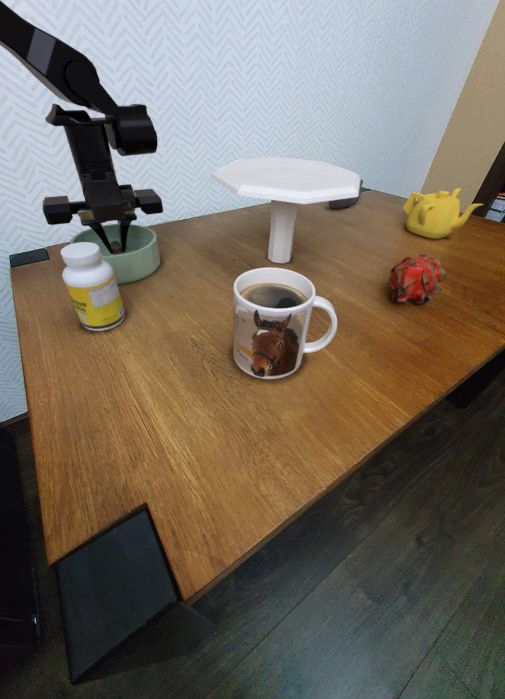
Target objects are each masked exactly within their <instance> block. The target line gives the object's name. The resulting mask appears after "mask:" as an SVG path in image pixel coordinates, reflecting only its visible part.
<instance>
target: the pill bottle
mask: <svg viewBox="0 0 505 699" xmlns="http://www.w3.org/2000/svg"><path fill="white" fill-rule="evenodd" d="M60 255H61V258H62V260H63V262H64V265H67V266H65V268H64V269H63V271H62V280H63V282H64V285H65V287H66V289H67V292H68V294H69V297H70V299H71V303H72V304H73V306H74V309H75V311H76V313H77V317H78V318H79V321H80V323H81V326H83V327H84V328H85V329H87V330H90V331H95V332H102V331H107V330H112V329H114V328H116V327H118V326H119V325H120V324H122V322H123V321H124V319H125V317H126V311H125V307H124V303H123V301H122V296H121V293H120V291H119V290H120V289H119V287H118V284H117V282H116V279H115V275H114V272H113V269H112V267H111V265H110V264H109V263H107V262H106V261H104V260H102V259H101V258H102V254H101V251H100V248H99V246H98V245H97V244H95V243H91V242H79V243H73V244H70V243H69V244H67V245H65V246H64V247H62V249H60Z"/></svg>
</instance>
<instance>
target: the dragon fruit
mask: <svg viewBox="0 0 505 699" xmlns="http://www.w3.org/2000/svg"><path fill="white" fill-rule="evenodd" d="M446 278H447V271H446V270H445V268H444V266H443V265H442V263H441V260H440V259H439V258H436V257H427V255H426V254H424V253H420V254H419V255H418V256H417V257H416V258H413V257H411V256H406V257H404V258H402V259H401V260H400V261H399V262H398V263H397V264H396V265H394V266H393V267H392V269H391V270H390V272H389V277H388V281H387V286H389V290H390V293H391V294H392V295H391V301H392V302H395V301H397V302H398V303H401V304H402V303H403V304H408V303H410V302H411V300H413V302H414V303H415V304H427V303H429V302H431V301H433V300H434V298H433V297H432V296H429V295H428V294H431V295H439V294H441V293H442V291H443V289H442V288H441V285H440V283H442V282H443V281H444V280H445V279H446Z"/></svg>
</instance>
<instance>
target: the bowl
mask: <svg viewBox="0 0 505 699" xmlns="http://www.w3.org/2000/svg"><path fill="white" fill-rule="evenodd" d="M102 226H103V228H104V230H105V233H106V235H107V238H108V240H109V242H110V244H111V242H113V241H117V242H119V243H120V236H119V229H118V223H111V224H110V223H109V224H102ZM79 242H91V243H95V244H97V245H98V246H99V248H100V251H101V254H102V258H101V259H102V260H104V261H106V262H107V263H109V264H110V265H111V267H112V269H113V272H114V275H115V279H116V282H117V285H121V284H128V283H133V282H137V281H139V280H142V279H145V278H147V277H148V276H150V275H152V274H153V273H154V272H155V271H157V270H158V268H159V266H160V265H161V260H162V259H161V254H160V248H159V242H158V234H156V232H155V231H154V230H152V229H150V227H147V226H143V225H141V224H133V223H131V224H130V226H129V229H128V234H127V243H126V252H124V254H118V255H113V254H110V252H109V251H108V249H107V248H106V246H105V245H104V243H103V242H102V240H101V239H100V237H99V236H98V235H97V234H96V232H95V231H94V230H93V229H92V228H91V227H89V228H87V229H85V230H82V231H80V232H78V233H77V234H75V235H74V236H73V237H72V238H71V239H70V241H69V245H70V244H73V243H79ZM120 244H121V243H120ZM121 247H122V246H121Z"/></svg>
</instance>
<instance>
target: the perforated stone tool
mask: <svg viewBox="0 0 505 699" xmlns="http://www.w3.org/2000/svg"><path fill="white" fill-rule="evenodd" d="M360 180H361V182H360V188H359V194H358V197H353V198H345V199H338V200H331V201H328V205H329V207H330V209H333V210H337V209H343V208H348V207H350V206H352V205H354V204H356V203H357V202H358V201H359V200H360V198H361V196H362V187H363V184H364V180H363V179H361V178H360Z"/></svg>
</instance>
